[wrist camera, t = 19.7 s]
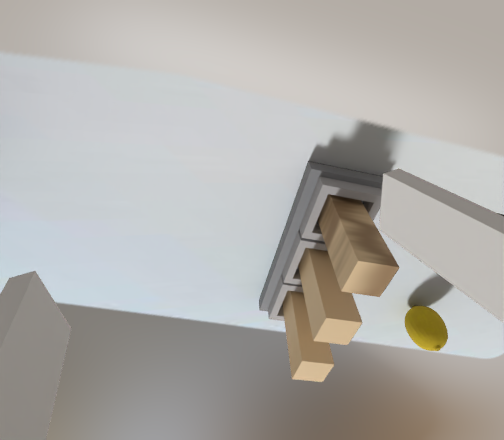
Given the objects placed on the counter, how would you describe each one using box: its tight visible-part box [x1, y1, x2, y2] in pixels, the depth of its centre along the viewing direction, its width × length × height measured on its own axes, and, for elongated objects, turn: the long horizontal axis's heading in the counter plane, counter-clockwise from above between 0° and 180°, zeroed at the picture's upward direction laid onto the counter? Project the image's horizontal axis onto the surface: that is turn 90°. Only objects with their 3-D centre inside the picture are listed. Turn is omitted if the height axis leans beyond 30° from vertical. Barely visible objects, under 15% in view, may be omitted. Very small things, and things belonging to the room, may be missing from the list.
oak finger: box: [317, 194, 399, 297], centre depth 34 cm, size 4×4×12 cm
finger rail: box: [259, 161, 383, 382], centre depth 40 cm, size 10×25×14 cm, turn 167°
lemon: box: [405, 306, 448, 351], centre depth 50 cm, size 6×6×8 cm
